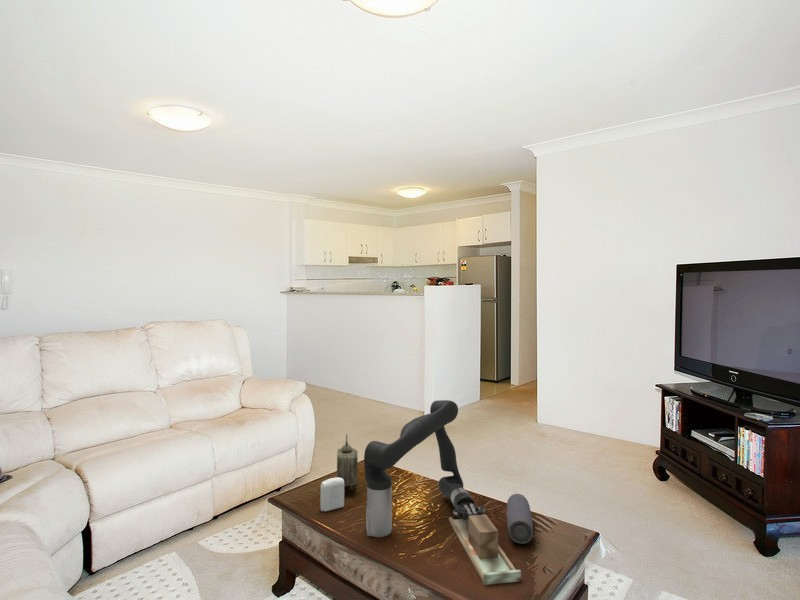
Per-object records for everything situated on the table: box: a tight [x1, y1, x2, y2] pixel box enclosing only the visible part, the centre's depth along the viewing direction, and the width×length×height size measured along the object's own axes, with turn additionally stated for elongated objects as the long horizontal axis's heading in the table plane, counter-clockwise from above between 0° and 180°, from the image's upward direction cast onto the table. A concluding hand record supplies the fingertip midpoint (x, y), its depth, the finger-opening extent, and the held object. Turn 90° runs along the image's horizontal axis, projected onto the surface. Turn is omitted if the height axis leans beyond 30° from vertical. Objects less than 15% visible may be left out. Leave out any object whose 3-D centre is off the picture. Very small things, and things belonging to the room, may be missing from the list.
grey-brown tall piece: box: [336, 434, 359, 490], centre depth 210 cm, size 14×9×25 cm, turn 6°
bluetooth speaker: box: [505, 493, 534, 545], centre depth 173 cm, size 23×9×10 cm, turn 168°
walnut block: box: [468, 513, 499, 559], centre depth 161 cm, size 6×12×9 cm, turn 10°
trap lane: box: [448, 516, 522, 586], centre depth 162 cm, size 12×41×3 cm, turn 9°
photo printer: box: [319, 476, 345, 512], centre depth 192 cm, size 10×4×12 cm, turn 123°
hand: (476, 522), depth 167 cm, fingers closed
